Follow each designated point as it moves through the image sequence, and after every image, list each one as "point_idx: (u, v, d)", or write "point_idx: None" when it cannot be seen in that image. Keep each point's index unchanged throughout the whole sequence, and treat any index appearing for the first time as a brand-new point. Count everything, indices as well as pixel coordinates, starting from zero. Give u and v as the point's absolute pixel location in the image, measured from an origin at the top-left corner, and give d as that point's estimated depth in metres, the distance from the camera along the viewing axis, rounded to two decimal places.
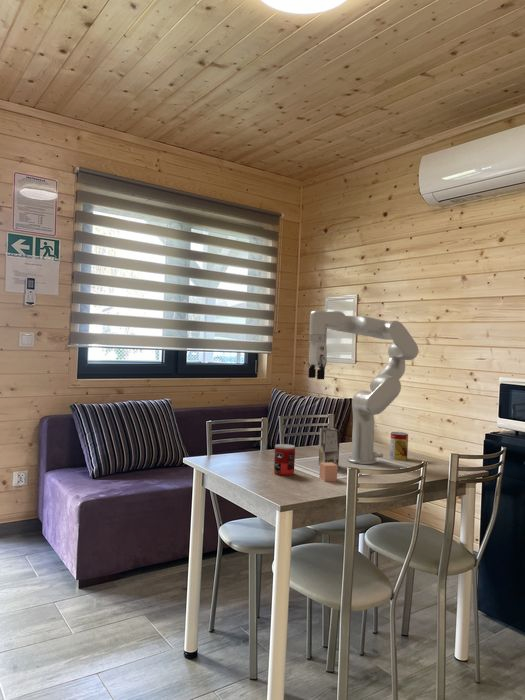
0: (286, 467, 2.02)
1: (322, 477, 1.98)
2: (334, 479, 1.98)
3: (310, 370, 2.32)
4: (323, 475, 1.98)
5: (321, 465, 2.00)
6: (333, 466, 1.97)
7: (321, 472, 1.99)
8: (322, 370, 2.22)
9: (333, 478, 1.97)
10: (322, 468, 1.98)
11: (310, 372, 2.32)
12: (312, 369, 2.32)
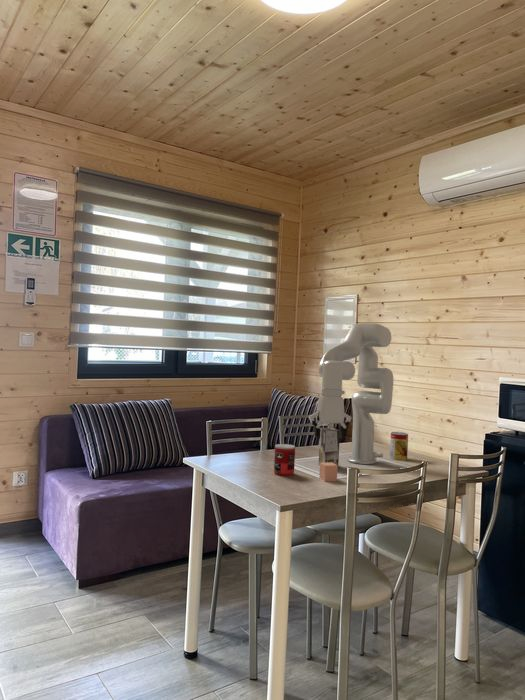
0: (286, 467, 2.02)
1: (322, 477, 1.98)
2: (334, 479, 1.98)
3: None
4: (323, 475, 1.98)
5: (321, 465, 2.00)
6: (333, 466, 1.97)
7: (321, 472, 1.99)
8: None
9: (333, 478, 1.97)
10: (322, 468, 1.98)
11: None
12: None
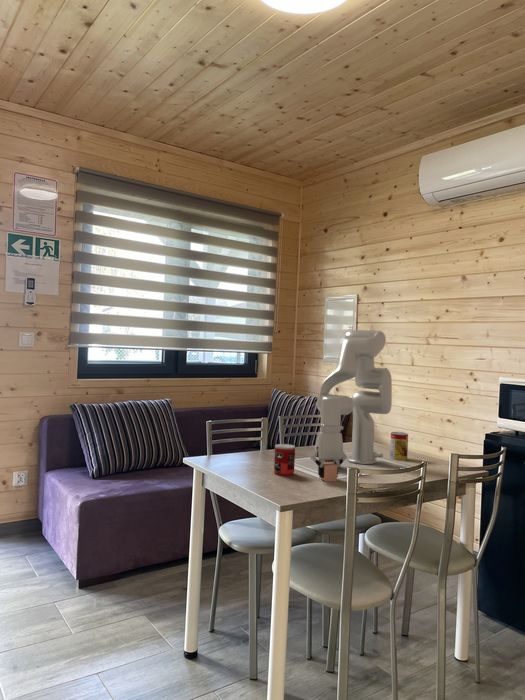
0: (286, 467, 2.02)
1: None
2: (334, 479, 1.97)
3: None
4: None
5: None
6: (333, 466, 1.97)
7: None
8: None
9: (333, 478, 1.97)
10: None
11: None
12: None
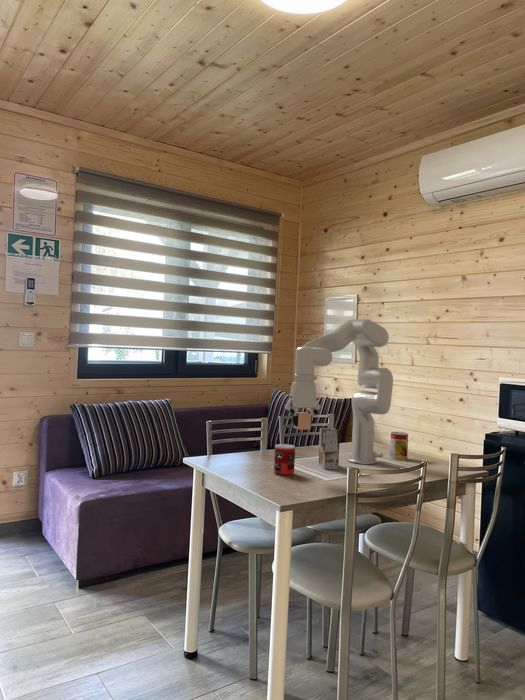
0: (286, 467, 2.02)
1: (296, 426, 2.02)
2: (308, 427, 2.01)
3: None
4: None
5: None
6: (307, 414, 2.01)
7: None
8: None
9: (307, 427, 2.01)
10: None
11: None
12: None
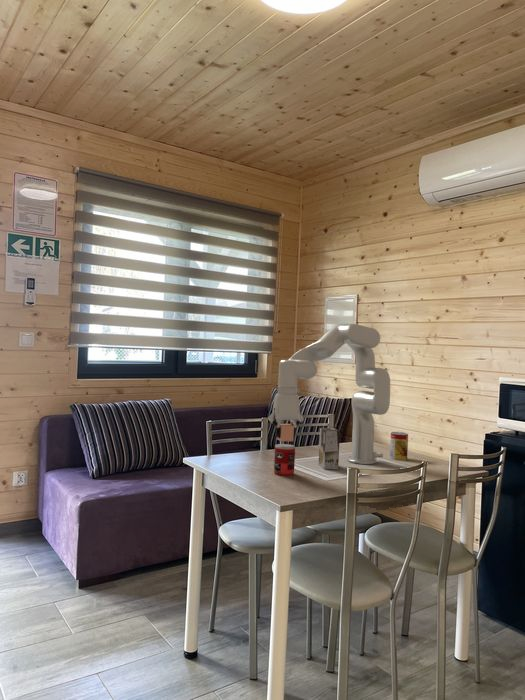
0: (286, 467, 2.02)
1: None
2: (290, 439, 2.04)
3: None
4: None
5: None
6: (289, 426, 2.04)
7: None
8: None
9: (290, 438, 2.04)
10: None
11: None
12: None
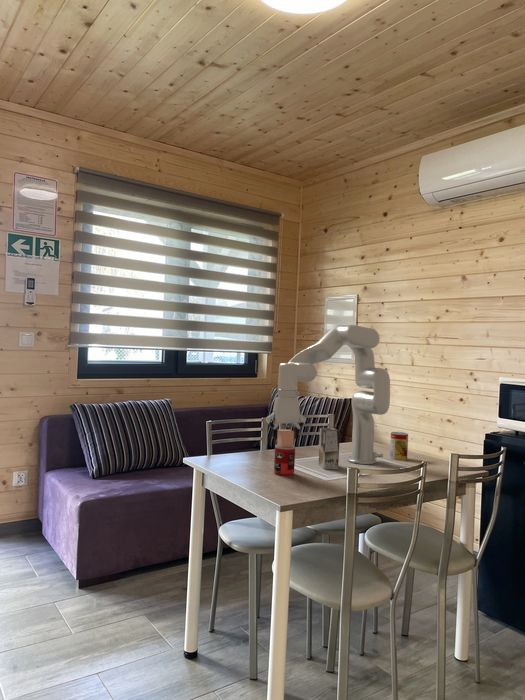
0: (286, 467, 2.02)
1: (279, 443, 2.04)
2: (291, 445, 2.04)
3: None
4: (280, 441, 2.04)
5: (278, 432, 2.06)
6: (290, 432, 2.04)
7: (278, 438, 2.06)
8: None
9: (290, 444, 2.04)
10: (279, 434, 2.05)
11: None
12: None
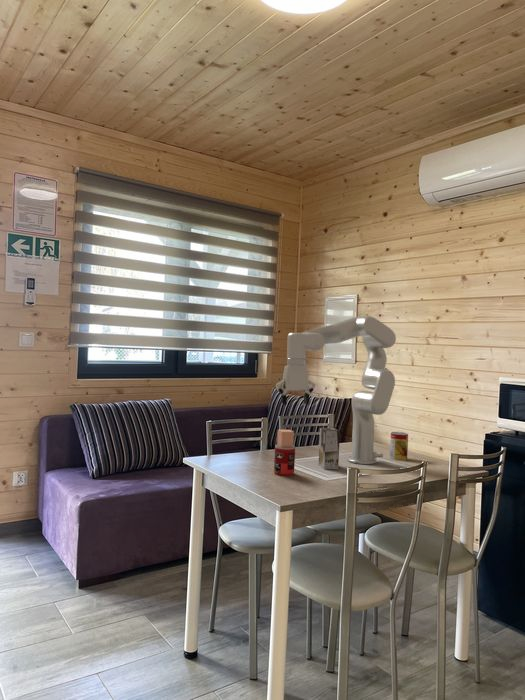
0: (286, 467, 2.02)
1: (279, 443, 2.04)
2: (291, 445, 2.04)
3: None
4: (280, 441, 2.04)
5: (278, 432, 2.06)
6: (290, 432, 2.04)
7: (278, 438, 2.06)
8: None
9: (290, 444, 2.04)
10: (279, 434, 2.05)
11: None
12: None
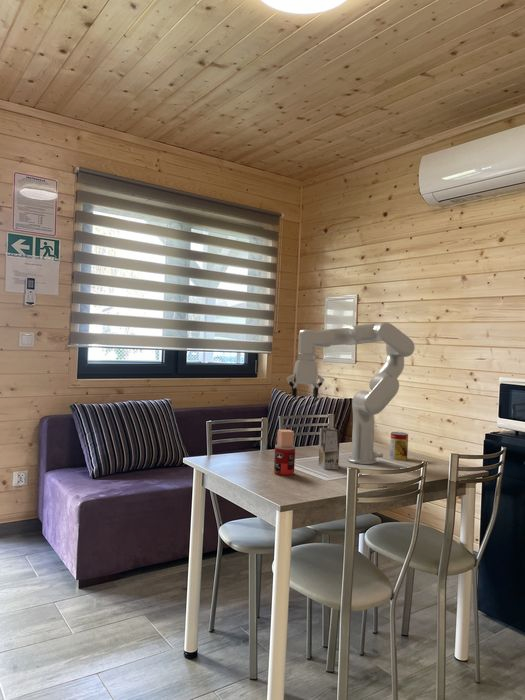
0: (286, 467, 2.02)
1: (279, 443, 2.04)
2: (291, 445, 2.04)
3: None
4: (280, 441, 2.04)
5: (278, 432, 2.06)
6: (290, 432, 2.04)
7: (278, 438, 2.06)
8: None
9: (290, 444, 2.04)
10: (279, 434, 2.05)
11: None
12: None
